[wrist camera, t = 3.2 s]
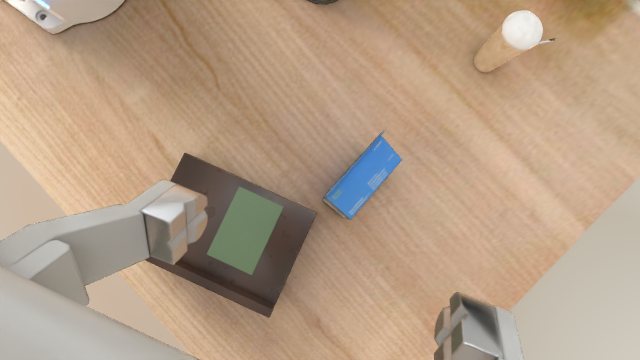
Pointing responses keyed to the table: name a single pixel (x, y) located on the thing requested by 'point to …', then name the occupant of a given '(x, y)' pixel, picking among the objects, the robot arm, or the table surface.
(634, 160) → the table surface
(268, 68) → the table surface
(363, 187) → the blue cardboard box
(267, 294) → the desk shelf
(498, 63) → the milkshake
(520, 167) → the table surface
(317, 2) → the thermos
